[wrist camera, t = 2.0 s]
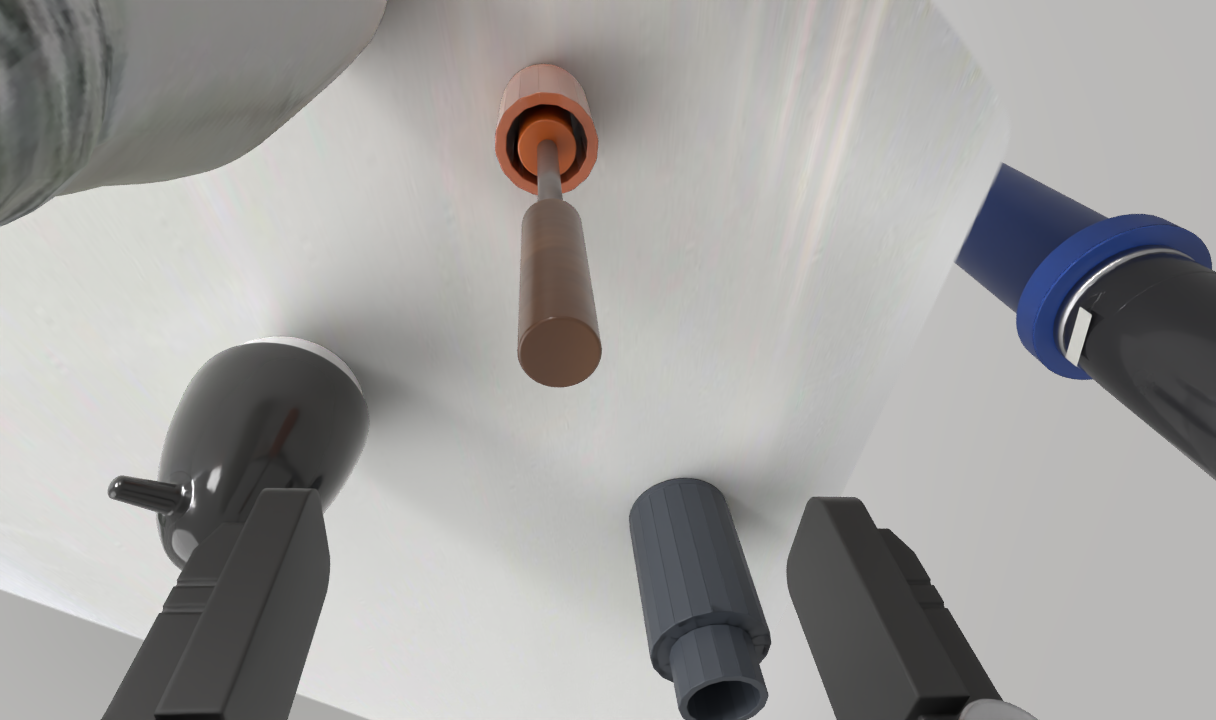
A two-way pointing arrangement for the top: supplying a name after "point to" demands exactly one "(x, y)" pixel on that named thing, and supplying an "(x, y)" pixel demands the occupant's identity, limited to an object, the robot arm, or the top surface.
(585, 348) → the bottle brush
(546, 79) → the cup
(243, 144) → the pale grey bottle
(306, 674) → the top surface
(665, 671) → the steel bottle
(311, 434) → the dark egg shaped ornament
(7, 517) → the top surface
